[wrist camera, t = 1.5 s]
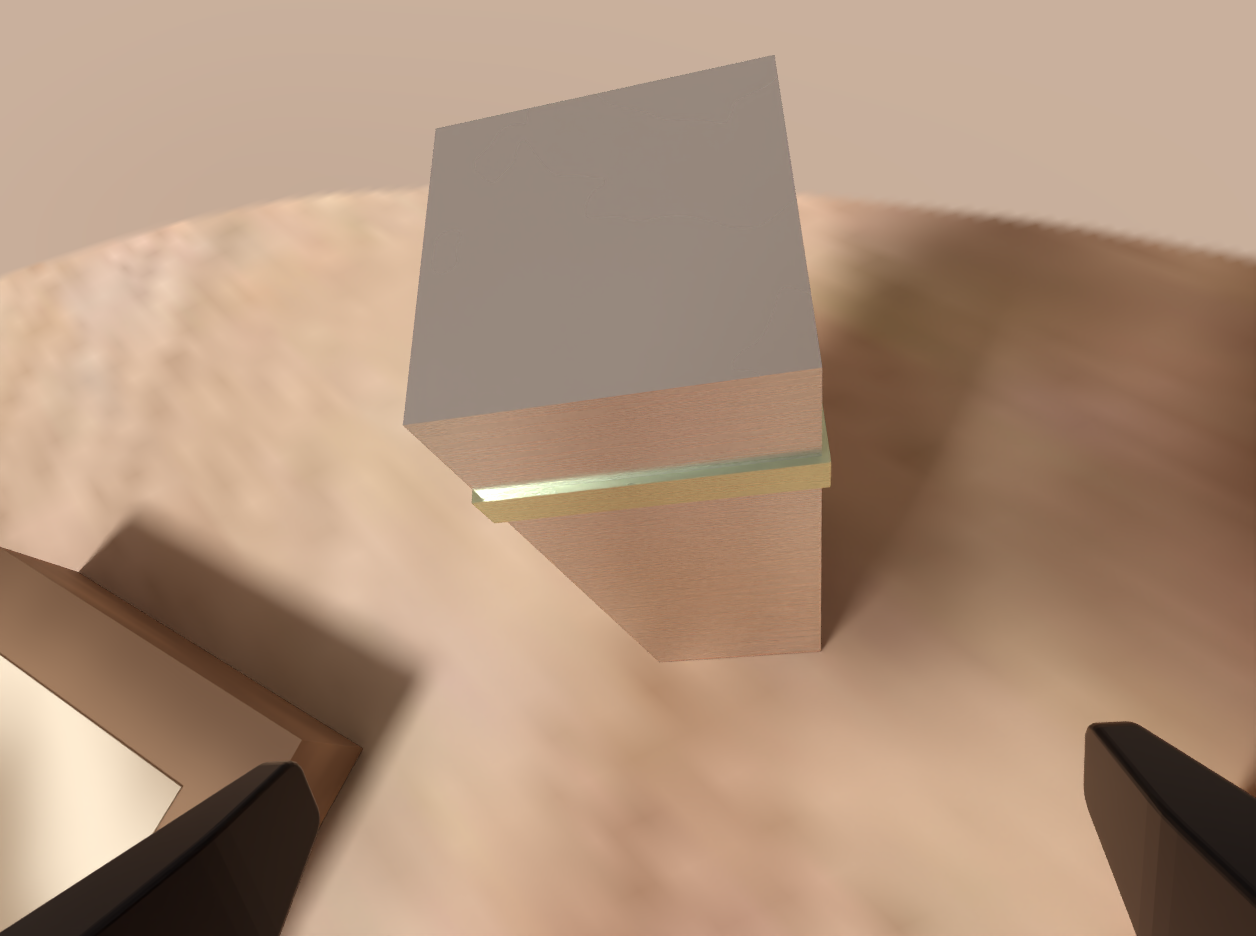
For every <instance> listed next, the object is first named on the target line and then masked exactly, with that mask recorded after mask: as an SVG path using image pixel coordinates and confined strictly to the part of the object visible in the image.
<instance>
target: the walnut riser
mask: <svg viewBox="0 0 1256 936" xmlns="http://www.w3.org/2000/svg"><path fill="white" fill-rule="evenodd" d="M362 749H363V748H362V747H360V746H358V745H357V744H355V743H354V742H352V741H350V740H349V739H347V738H345V737H344V736H342V735H341V734H339V733H337V732H336V731H334V730H333V729H331V728H329V727H328V726H326V725H324V724H323V723H321V722H320V721H318V720H316V719H315V718H313V717H312V716H310V715H308V714H307V713H305V712H303V711H302V710H300V709H299V708H297V707H295V706H294V705H292V704H290V703H289V702H287V701H286V700H284V699H282V698H281V697H279V696H278V695H276V694H274V693H273V692H271V691H269V690H268V689H266V688H265V687H263V686H261V685H260V684H258V683H256V682H255V681H253V680H252V679H250V678H248V677H247V676H245V675H244V674H242V673H240V672H239V671H237V670H235V669H234V668H232V667H231V666H229V665H227V664H226V663H224V662H222V661H221V660H219V659H218V658H216V657H214V656H213V655H211V654H210V653H208V652H206V651H205V650H203V649H201V648H200V647H198V646H197V645H195V644H193V643H192V642H190V641H188V640H187V639H185V638H184V637H182V636H180V635H179V634H177V633H176V632H174V631H172V630H171V629H169V628H167V627H166V626H164V625H163V624H161V623H159V622H158V621H156V620H154V619H153V618H151V617H150V616H148V615H146V614H145V613H143V612H142V611H140V610H138V609H137V608H135V607H133V606H132V605H130V604H129V603H127V602H125V601H124V600H122V599H120V598H119V597H117V596H116V595H114V594H112V593H111V592H109V591H108V590H106V589H104V588H103V587H101V586H99V585H98V584H96V583H95V582H93V581H91V580H90V579H88V578H87V577H85V576H83V575H82V574H80V573H78V572H77V571H73V570H70V569H67V568H64V567H61V566H58V565H55V564H52V563H49V562H45V561H42V560H39V559H36V558H33V557H30V556H27V555H24V554H21V553H17V552H14V551H11V550H8V549H5V548H2V547H0V932H1V931H3V930H4V929H6V928H7V927H9V926H10V925H12V924H13V923H15V922H17V921H18V920H20V919H21V918H23V917H24V916H26V915H27V914H29V913H31V912H32V911H34V910H35V909H37V908H38V907H40V906H41V905H43V904H44V903H46V902H48V901H49V900H51V899H52V898H54V897H55V896H57V895H58V894H60V893H61V892H63V891H65V890H66V889H68V888H69V887H71V886H72V885H74V884H75V883H77V882H78V881H80V880H82V879H83V878H85V877H86V876H88V875H89V874H91V873H92V872H94V871H95V870H97V869H99V868H100V867H102V866H103V865H105V864H106V863H108V862H109V861H111V860H112V859H114V858H116V857H117V856H119V855H120V854H122V853H123V852H125V851H126V850H128V849H129V848H131V847H133V846H134V845H136V844H137V843H139V842H140V841H142V840H143V839H145V838H146V837H148V836H150V835H151V834H153V833H154V832H156V831H157V830H159V829H160V828H162V827H164V826H165V825H167V824H168V823H170V822H171V821H173V820H174V819H176V818H177V817H179V816H181V815H182V814H184V813H185V812H187V811H188V810H190V809H191V808H193V807H194V806H196V805H198V804H199V803H201V802H202V801H204V800H205V799H207V798H208V797H210V796H211V795H213V794H215V793H216V792H218V791H219V790H221V789H222V788H224V787H225V786H227V785H228V784H230V783H232V782H233V781H235V780H236V779H238V778H239V777H241V776H242V775H244V774H245V773H247V772H249V771H250V770H252V769H253V768H255V767H256V766H258V765H260V764H262V763H264V762H269V761H294V762H297V763H298V764H299V765H300V766H301V768H302V769H303V772H304V774H305V776H306V779H307V781H308V784H309V786H310V789H311V791H312V794H313V796H314V799H315V801H316V803H317V806H318V809H319V813H320V825H321V823H322V822H323V820H324V818H325V816H326V814H327V812H328V811H329V809H330V807H331V805H332V803H333V802H334V800H335V798H336V796H337V794H338V793H339V791H340V789H341V787H342V785H343V784H344V782H345V780H346V778H347V776H348V775H349V773H350V771H351V769H352V767H353V766H354V764H355V762H356V760H357V758H358V757H359V755H360V753H361V751H362ZM320 825H319V827H320Z"/></svg>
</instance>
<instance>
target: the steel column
mask: <svg viewBox="0 0 1256 936" xmlns="http://www.w3.org/2000/svg"><path fill="white" fill-rule="evenodd" d="M403 426H404V427H405V428H407V429H408V430H409V431H410V432H411V433H412V434H413V435H414V436H415V437H416V438H417V439H418V440H420V441H421V442H422V443H423V444H424V445H425V446H426V447H427V448H428V449H429V450H430V451H431V452H433V453H434V454H435V455H436V456H437V457H438V458H439V459H440V460H441V461H442V462H443V463H444V464H445V465H447V466H448V467H449V468H450V469H451V470H452V471H453V472H454V473H455V474H456V475H457V476H458V477H460V478H461V479H462V480H463V481H464V482H465V483H466V484H467V485H468V486H469V487H470V488H471V489H473V491H472V504H473V505H474V506H475V507H476V508H478V509H479V510H480V511H481V512H482V513H483V514H484V515H486V516H487V517H488V518H489V519H490V520H491V521H492V522H493V523H502V522H508V523H509V524H510V525H511V526H513V527H514V528H515V529H516V530H517V531H518V532H519V533H520V534H521V535H522V536H523V537H524V538H526V539H527V540H528V541H529V542H530V543H531V544H532V545H533V546H534V547H535V548H536V549H537V550H539V551H540V552H541V553H542V554H543V555H544V556H545V557H546V558H547V559H548V560H549V561H550V562H552V563H553V564H554V565H555V566H556V567H557V568H558V569H559V570H560V571H561V572H562V573H563V574H564V575H566V576H567V577H568V578H569V579H570V580H571V581H572V582H573V583H574V584H575V585H576V586H577V587H579V588H580V589H581V590H582V591H583V592H584V593H585V594H586V595H587V596H588V597H589V598H590V599H592V600H593V601H594V602H595V603H596V604H597V605H598V606H599V607H600V608H601V609H602V610H603V611H605V612H606V613H607V614H608V615H609V616H610V617H611V618H612V619H613V620H614V621H615V622H616V623H617V624H619V625H620V626H621V627H622V628H623V629H624V630H625V631H626V632H627V633H628V634H629V635H630V636H632V637H633V638H634V639H635V640H636V641H637V642H638V643H639V644H640V645H641V646H642V647H643V648H645V649H646V650H647V651H648V652H649V653H650V654H651V655H652V656H653V657H654V658H655V659H656V660H658V661H659V662H669V661H684V660H698V659H713V658H728V657H743V656H758V655H773V654H788V653H803V652H818V651H821V530H822V488H827V487H831V457H830V450H829V444H828V437H827V430H826V424H825V417H824V410H823V404H822V362H821V356H820V349H819V343H818V336H817V330H816V323H815V317H814V310H813V304H812V297H811V291H810V284H809V277H808V271H807V264H806V258H805V251H804V245H803V238H802V232H801V225H800V219H799V212H798V206H797V199H796V193H795V186H794V180H793V173H792V167H791V161H790V154H789V148H788V141H787V135H786V128H785V121H784V114H783V108H782V102H781V95H780V89H779V82H778V75H777V69H776V62H775V56H774V55H772V56H767V57H763V58H758V59H754V60H749V61H745V62H740V63H735V64H731V65H726V66H721V67H717V68H712V69H708V70H703V71H698V72H694V73H689V74H685V75H680V76H676V77H671V78H667V79H662V80H657V81H653V82H648V83H644V84H639V85H634V86H630V87H625V88H621V89H616V90H611V91H607V92H602V93H598V94H593V95H588V96H584V97H579V98H575V99H570V100H565V101H561V102H556V103H552V104H547V105H543V106H538V107H534V108H529V109H524V110H520V111H515V112H511V113H506V114H501V115H497V116H492V117H487V118H483V119H479V120H474V121H470V122H465V123H460V124H455V125H451V126H446V127H442V128H437V129H436V132H435V142H434V150H433V159H432V168H431V177H430V186H429V195H428V204H427V213H426V222H425V231H424V240H423V249H422V258H421V267H420V276H419V286H418V295H417V304H416V313H415V322H414V331H413V340H412V349H411V358H410V367H409V376H408V385H407V394H406V403H405V412H404V421H403Z"/></svg>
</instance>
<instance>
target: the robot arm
mask: <svg viewBox="0 0 1256 936" xmlns="http://www.w3.org/2000/svg"><path fill="white" fill-rule="evenodd" d="M1084 795H1085V800H1086V804H1087V807H1088V811H1089V813H1090V816H1091V819H1092V821H1093V824H1094V826H1095V829H1096V832H1097V834H1098V837H1099V839H1100V842H1101V845H1102V847H1103V850H1104V852H1105V855H1106V857H1107V860H1108V863H1109V865H1110V868H1111V870H1112V873H1113V876H1114V878H1115V881H1116V883H1117V886H1118V889H1119V891H1120V894H1121V896H1122V899H1123V901H1124V904H1125V907H1126V909H1127V912H1128V914H1129V917H1130V920H1131V922H1132V925H1133V927H1134V930H1135V933H1136V935H1137V936H1256V798H1255V797H1254V796H1252V795H1250V794H1249V793H1247V792H1246V791H1244V790H1242V789H1241V788H1239V787H1238V786H1236V785H1234V784H1233V783H1231V782H1230V781H1228V780H1226V779H1225V778H1223V777H1222V776H1220V775H1218V774H1217V773H1215V772H1214V771H1212V770H1210V769H1209V768H1207V767H1206V766H1204V765H1202V764H1201V763H1199V762H1198V761H1196V760H1194V759H1193V758H1191V757H1190V756H1188V755H1187V754H1185V753H1183V752H1182V751H1180V750H1179V749H1177V748H1175V747H1174V746H1172V745H1171V744H1169V743H1167V742H1166V741H1164V740H1163V739H1161V738H1159V737H1158V736H1156V735H1155V734H1153V733H1151V732H1150V731H1148V730H1147V729H1145V728H1143V727H1142V726H1140V725H1138V724H1136V723H1133V722H1127V721H1123V722H1101V723H1093V724H1091V725H1090V726H1089V727H1088V728H1087V731H1086V734H1085V757H1084ZM319 825H320V813H319V809H318V806H317V803H316V801H315V799H314V796H313V794H312V791H311V789H310V786H309V784H308V781H307V779H306V776H305V774H304V772H303V769H302V768H301V766H300V765H299V764H298V763H297V762H294V761H269V762H264V763H262V764H260V765H258V766H256V767H255V768H253V769H252V770H250V771H249V772H247V773H245V774H244V775H242V776H241V777H239V778H238V779H236V780H235V781H233V782H232V783H230V784H228V785H227V786H225V787H224V788H222V789H221V790H219V791H218V792H216V793H215V794H213V795H211V796H210V797H208V798H207V799H205V800H204V801H202V802H201V803H199V804H198V805H196V806H194V807H193V808H191V809H190V810H188V811H187V812H185V813H184V814H182V815H181V816H179V817H177V818H176V819H174V820H173V821H171V822H170V823H168V824H167V825H165V826H164V827H162V828H160V829H159V830H157V831H156V832H154V833H153V834H151V835H150V836H148V837H146V838H145V839H143V840H142V841H140V842H139V843H137V844H136V845H134V846H133V847H131V848H129V849H128V850H126V851H125V852H123V853H122V854H120V855H119V856H117V857H116V858H114V859H112V860H111V861H109V862H108V863H106V864H105V865H103V866H102V867H100V868H99V869H97V870H95V871H94V872H92V873H91V874H89V875H88V876H86V877H85V878H83V879H82V880H80V881H78V882H77V883H75V884H74V885H72V886H71V887H69V888H68V889H66V890H65V891H63V892H61V893H60V894H58V895H57V896H55V897H54V898H52V899H51V900H49V901H48V902H46V903H44V904H43V905H41V906H40V907H38V908H37V909H35V910H34V911H32V912H31V913H29V914H27V915H26V916H24V917H23V918H21V919H20V920H18V921H17V922H15V923H13V924H12V925H10V926H9V927H7V928H6V929H4V930H3V931H1V932H0V936H280V934H281V931H282V928H283V926H284V923H285V920H286V918H287V915H288V912H289V909H290V907H291V904H292V901H293V899H294V896H295V893H296V890H297V888H298V885H299V882H300V880H301V877H302V874H303V872H304V869H305V866H306V863H307V861H308V858H309V855H310V853H311V850H312V847H313V845H314V842H315V839H316V836H317V834H318V830H319Z"/></svg>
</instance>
